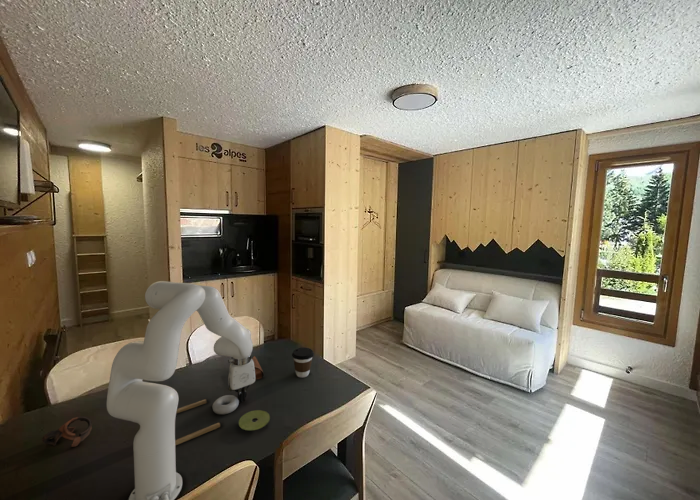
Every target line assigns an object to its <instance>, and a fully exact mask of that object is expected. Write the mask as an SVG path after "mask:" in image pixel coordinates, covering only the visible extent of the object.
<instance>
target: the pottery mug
mask: <svg viewBox="0 0 700 500" xmlns="http://www.w3.org/2000/svg"><path fill="white" fill-rule="evenodd" d="M76 421H80V422H86V423H87V425H88V426H87V428H86V429H85V430H83V431H81V432H79V434H78V435H76V433H74V431H75V429H76V426H71V424H73V423H74V422H76ZM92 426H93V422H92V419H90V418H89V417H87V416H76V417H73V418H71V419H69V420H68V421H67V422H64V423H63V424H62V425H61V426H59V428H58V429H55V430H51V431H48V432H47V433H45V434H44V435H43V436H42V438H41V441H42V443H43V444H44V445H51V446H53V447H56V446H57V443H58V441H59V439H60V438H64V439H66V440H68V441H72V443H71V445H70V447H71V448H75V447H77V446H78V445H79V444H80V443H82V442H83V441H84V440H85V439H86V438H87V437H88V436H89V435H90V434H91V432H92V429H93V427H92Z"/></svg>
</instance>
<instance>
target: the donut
mask: <svg viewBox="0 0 700 500" xmlns="http://www.w3.org/2000/svg"><path fill="white" fill-rule="evenodd" d="M239 403H240V400H238V396H236V395H233V394H225V395H223V396H219V397H218V398H217V399H215V401H214V402H212V408H211V409H212V411H213V412H214V413H215V414H217V415H228V414H231V413H233V412H234V411H235V410H236V409H238V407H239V405H240V404H239Z"/></svg>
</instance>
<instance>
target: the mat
mask: <svg viewBox="0 0 700 500" xmlns="http://www.w3.org/2000/svg"><path fill="white" fill-rule="evenodd" d="M270 419H271V416H270V413H268V412H267V411H265V410H261V409H256V410H251V411H248V412H246V413H244V414H243V415H242V416H241V417H240V418H239V420H238V426H239V427H240V428H241V429H242V430H245V431H257V430H259V429H262V428H263V427H266V425H268V424H269V422H270Z"/></svg>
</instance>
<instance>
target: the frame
mask: <svg viewBox="0 0 700 500" xmlns="http://www.w3.org/2000/svg"><path fill="white" fill-rule="evenodd" d="M207 403H208V401H207V399H206V398H205V399H202V400H199V401H196V402H193V403H190V404H187V405H184V406H182V407H179V408H178V407H177V411H176V415H177V414H179V413H182V412H183V413H184V412H186V411H188V410H191V409H194V408H196V407H199V406H203V405H205V404H207ZM219 428H221V423H220V422H217V423H214V424H212V425H209V426H206V427H204V428H202V429H199V430H196V431H194V432H192V433H189V434H187V435H184V436H181V437H180V438H177V439H175V447H176V446H178V445H180V444H183V443H185V442H188V441H190V440H192V439H195V438H197V437H200V436H202V435H205V434H207V433H209V432H211V431H214V430H217V429H219Z"/></svg>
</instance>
